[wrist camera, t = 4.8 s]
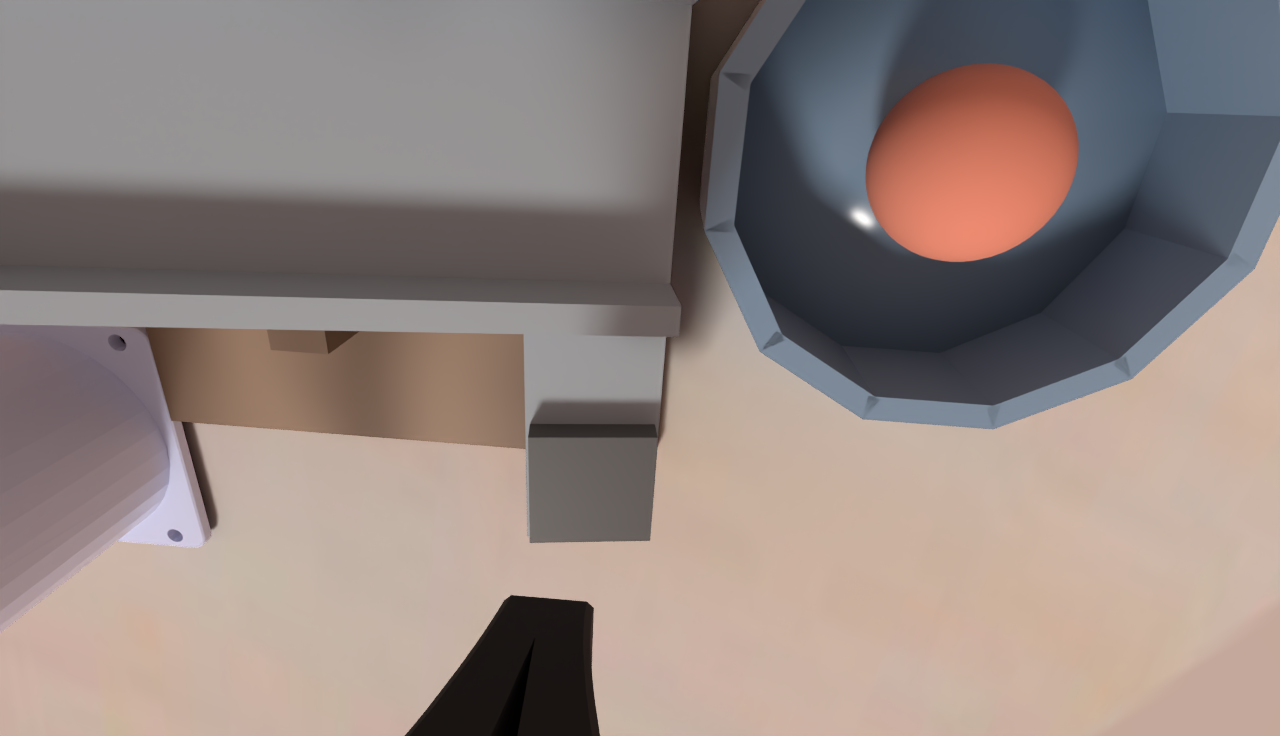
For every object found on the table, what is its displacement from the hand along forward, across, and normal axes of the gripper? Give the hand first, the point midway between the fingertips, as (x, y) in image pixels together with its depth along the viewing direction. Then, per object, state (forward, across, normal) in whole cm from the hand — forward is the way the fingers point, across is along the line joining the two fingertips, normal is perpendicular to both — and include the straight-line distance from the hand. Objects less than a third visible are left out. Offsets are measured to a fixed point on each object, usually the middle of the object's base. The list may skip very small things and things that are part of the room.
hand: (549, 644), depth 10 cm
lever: (+5, +6, -4) cm, 9 cm away
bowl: (+9, -8, -7) cm, 14 cm away
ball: (+7, -8, -7) cm, 13 cm away
